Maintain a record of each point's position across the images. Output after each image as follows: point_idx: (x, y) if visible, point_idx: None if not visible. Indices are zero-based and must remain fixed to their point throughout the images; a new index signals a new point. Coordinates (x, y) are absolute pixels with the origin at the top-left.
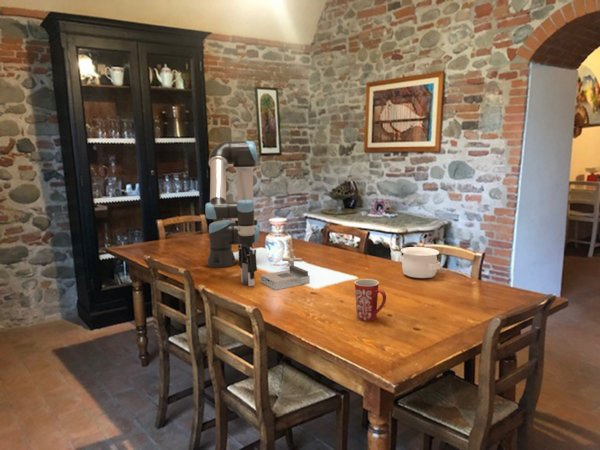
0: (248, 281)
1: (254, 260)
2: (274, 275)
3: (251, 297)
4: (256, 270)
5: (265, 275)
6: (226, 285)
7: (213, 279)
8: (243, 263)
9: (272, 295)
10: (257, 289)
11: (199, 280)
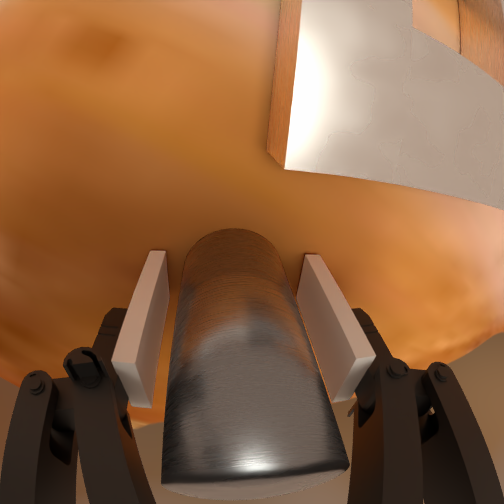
0: (307, 324)
1: (478, 480)
2: (423, 54)
3: (436, 340)
4: (445, 369)
5: (356, 130)
6: None
7: (41, 368)
8: (252, 497)
9: (495, 256)
10: (396, 275)
11: None
